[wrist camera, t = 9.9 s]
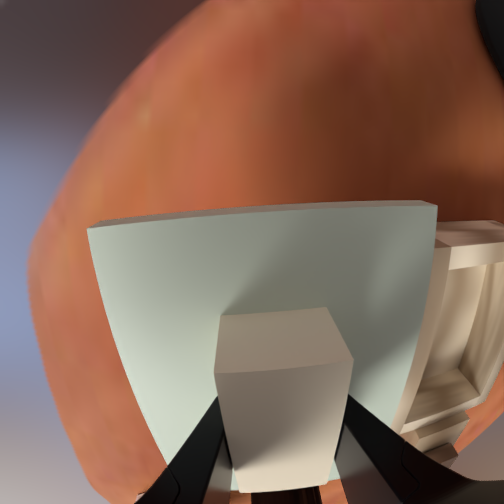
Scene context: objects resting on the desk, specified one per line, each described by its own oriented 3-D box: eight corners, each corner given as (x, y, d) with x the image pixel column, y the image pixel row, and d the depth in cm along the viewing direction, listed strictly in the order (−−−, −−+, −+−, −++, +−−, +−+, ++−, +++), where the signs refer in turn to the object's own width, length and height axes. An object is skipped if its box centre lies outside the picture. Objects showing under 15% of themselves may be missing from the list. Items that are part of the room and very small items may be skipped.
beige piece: (353, 435, 23) (370, 484, 17) (388, 223, 17) (445, 255, 11) (439, 411, 23) (464, 449, 18) (493, 220, 17) (548, 243, 11)
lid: (182, 474, 13) (176, 526, 9) (101, 220, 8) (35, 257, 5) (366, 457, 13) (383, 506, 9) (420, 200, 8) (493, 226, 5)
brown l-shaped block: (397, 491, 18) (408, 520, 15) (421, 454, 16) (438, 488, 13) (423, 481, 18) (435, 508, 15) (450, 442, 16) (469, 474, 13)
